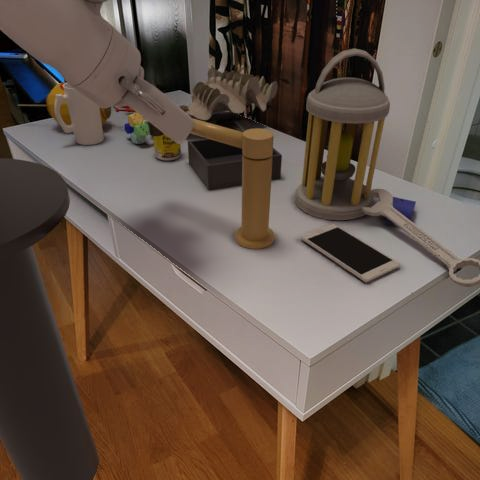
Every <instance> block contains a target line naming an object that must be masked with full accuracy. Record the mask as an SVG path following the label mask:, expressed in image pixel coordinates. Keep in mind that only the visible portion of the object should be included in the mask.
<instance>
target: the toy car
mask: <svg viewBox="0 0 480 480" xmlns="http://www.w3.org/2000/svg"><path fill="white" fill-rule="evenodd" d="M213 124H215V125H218V126H222V127H226V128H229V129H233V130H236V131H240V132H244V131H246V130H248V129H255V128H257V127H256V125H254V124H253V123H251V122H250V121H249V120H248V119H247V118H245V117H243V116H228V117H223V118H219V119H216V120H215V121H214V123H213Z"/></svg>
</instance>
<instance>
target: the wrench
mask: <svg viewBox="0 0 480 480" xmlns="http://www.w3.org/2000/svg"><path fill="white" fill-rule="evenodd" d="M367 195H369V196H372V197H373V198H376V199H378V202H376V203H374V204H373V206H372V207H371V208H369V207H361V209H362V211H363V212H364V213H365V215H368V216H370V217H371V216H372V217H378V216H382V217H383V216H386V217H387V218H388V219H389V220H391V221H392V222H393V223H394V224H396V225H395V226H396V227H398V228H399V229H400V230H402V231H403V232H404V233H406V234H407V235H408V236H409V237H410V238H412V240H414V241H415V242H417V243H418V244H420V245H421V246H422V247H423V248H424V249H425V250H426V251H428V252H429V253H431V255H433V256H434V257H436V259H438V260H440V262H442V263H443V264H444V265H446V267H447V269H448V277H449V279H450V280H451V281H452V282H453V283H455V284H456V285H459V286H461V287H466V288H471V287H475V286H478V285H479V284H480V273H478V276H476V277H473V278H471V279H469V278H467V279H463V278H461V277H457V275H456V274H455V272H456V271H457V270H458V269H460V268H463V266H467V267H468V266H473V267H474V268H478V270H479V271H480V259H477V258H473V257H467V258H466V257H465V258H460V257H458V256H457V255H456V254H454V252H452V251H451V250H449V249H448V248H447V247H445V246H444V245H443V244H442V243H440V242H439V241H438V240H436V239H435V238H433V237H432V235H430V234H429V233H427V232H426V231H425V230H423V229H422V228H421V227H420V226H418V225H417V224H416V223H414V222H413V221H412V220H411V221H410V220H409V219H408V218H406V217H405V216H404V215H402V214H401V213H400V212H399V211H397V210H396V209H395V208H393V197H394V196H393V195H392V193H391V192H390V191H389V190H386V189H384V188H373V189H371V190H370V191H368V192H367ZM386 217H385V218H386Z"/></svg>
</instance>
